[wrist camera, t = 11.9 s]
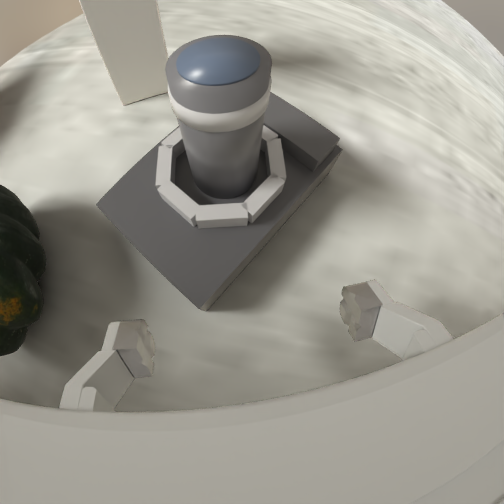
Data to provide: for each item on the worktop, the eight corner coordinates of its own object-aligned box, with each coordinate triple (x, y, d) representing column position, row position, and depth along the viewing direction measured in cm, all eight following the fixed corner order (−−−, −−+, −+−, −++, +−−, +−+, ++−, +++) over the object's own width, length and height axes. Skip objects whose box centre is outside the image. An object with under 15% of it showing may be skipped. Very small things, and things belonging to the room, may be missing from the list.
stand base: (206, 311, 21) (193, 307, 15) (115, 222, 23) (82, 191, 17) (328, 173, 25) (351, 132, 19) (238, 109, 26) (239, 62, 20)
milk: (169, 62, 28) (144, -94, 7) (174, 91, 27) (143, -94, 5) (122, 76, 27) (75, -72, 6) (121, 107, 26) (58, -64, 4)
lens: (226, 213, 19) (218, 111, 9) (177, 173, 20) (141, 67, 10) (272, 168, 20) (296, 57, 10) (223, 133, 21) (218, 23, 11)
